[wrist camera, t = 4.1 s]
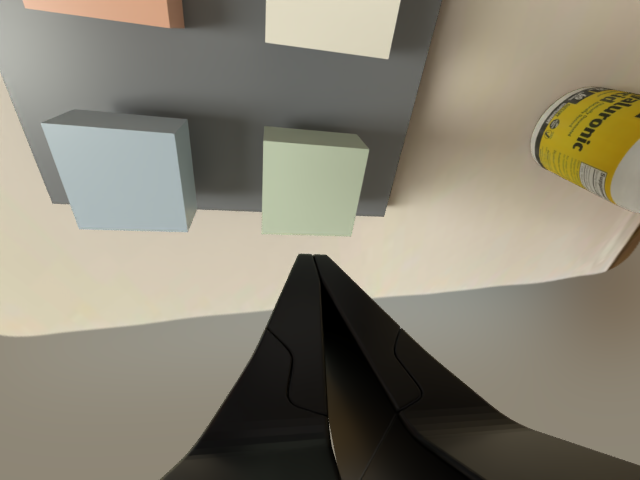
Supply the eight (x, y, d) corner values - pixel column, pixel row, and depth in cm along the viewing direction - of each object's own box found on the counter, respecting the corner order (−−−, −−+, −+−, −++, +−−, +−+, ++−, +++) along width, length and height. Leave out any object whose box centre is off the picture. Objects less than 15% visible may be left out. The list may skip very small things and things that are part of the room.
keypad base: (449, -83, 14) (467, -94, 13) (377, 206, 22) (383, 216, 21) (-78, -206, 11) (-123, -237, 9) (66, 192, 19) (52, 203, 18)
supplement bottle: (599, 65, 19) (843, 91, 11) (612, 133, 22) (813, 193, 14) (516, 125, 20) (677, 187, 12) (537, 181, 23) (680, 262, 15)
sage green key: (356, 134, 16) (369, 149, 14) (342, 214, 19) (350, 236, 17) (264, 126, 15) (263, 140, 13) (262, 210, 18) (261, 234, 16)
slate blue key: (187, 119, 15) (174, 133, 13) (197, 208, 17) (187, 232, 15) (74, 109, 14) (40, 122, 12) (102, 204, 16) (79, 229, 14)
